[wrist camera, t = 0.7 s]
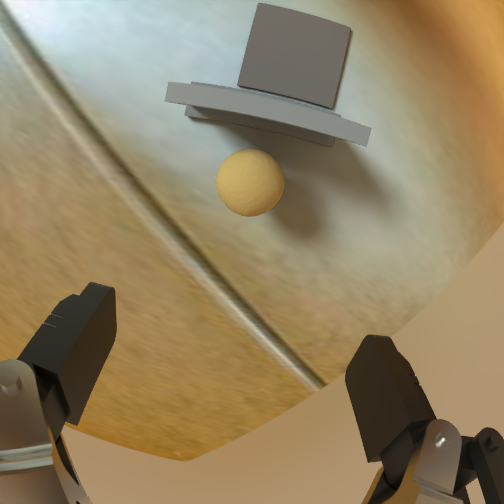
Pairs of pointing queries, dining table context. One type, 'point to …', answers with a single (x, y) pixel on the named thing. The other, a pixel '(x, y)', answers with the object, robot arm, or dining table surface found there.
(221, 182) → the yellow light bulb
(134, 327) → the dining table surface
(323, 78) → the mat
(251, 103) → the screen
